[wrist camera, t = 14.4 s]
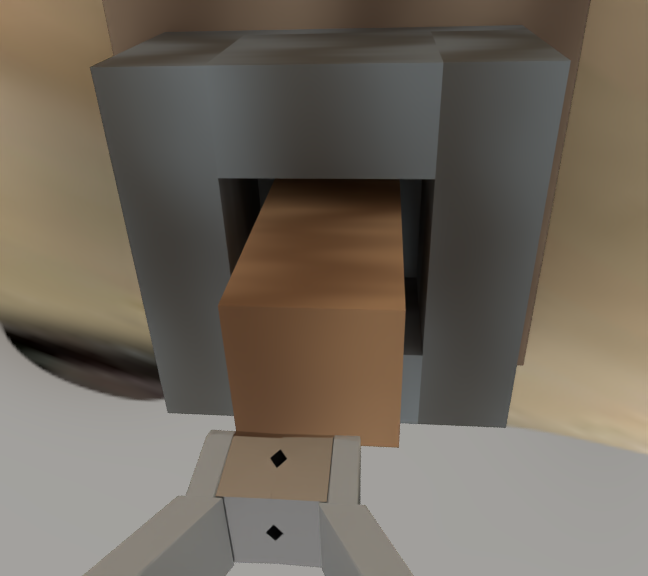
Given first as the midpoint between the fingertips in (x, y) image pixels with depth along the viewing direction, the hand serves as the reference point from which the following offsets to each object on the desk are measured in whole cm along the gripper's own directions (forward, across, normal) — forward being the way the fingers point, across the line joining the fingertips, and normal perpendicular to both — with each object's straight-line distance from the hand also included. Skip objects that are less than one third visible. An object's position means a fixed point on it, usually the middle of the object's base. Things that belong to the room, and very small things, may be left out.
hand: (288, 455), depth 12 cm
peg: (+12, 0, 0) cm, 12 cm away
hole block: (+14, 0, 0) cm, 14 cm away
